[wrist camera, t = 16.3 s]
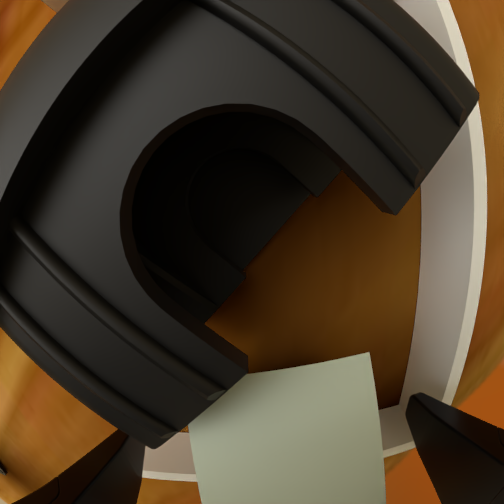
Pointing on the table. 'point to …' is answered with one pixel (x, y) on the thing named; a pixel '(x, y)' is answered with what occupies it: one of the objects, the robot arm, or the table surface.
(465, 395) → the table surface
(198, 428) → the block
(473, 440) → the robot arm
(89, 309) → the end cap
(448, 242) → the white u-shaped frame
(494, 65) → the table surface
